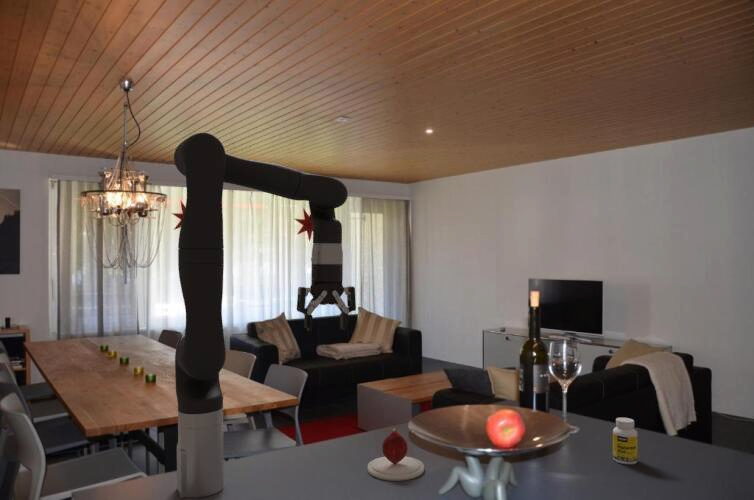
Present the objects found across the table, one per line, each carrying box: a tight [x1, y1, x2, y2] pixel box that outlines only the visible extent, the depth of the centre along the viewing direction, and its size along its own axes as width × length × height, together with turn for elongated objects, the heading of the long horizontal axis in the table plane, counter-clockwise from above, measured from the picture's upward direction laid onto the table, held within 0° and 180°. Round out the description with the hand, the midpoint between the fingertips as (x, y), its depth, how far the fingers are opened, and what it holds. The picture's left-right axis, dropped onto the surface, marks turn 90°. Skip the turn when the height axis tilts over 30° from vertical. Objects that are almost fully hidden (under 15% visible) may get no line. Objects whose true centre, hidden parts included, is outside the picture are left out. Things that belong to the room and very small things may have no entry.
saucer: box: [367, 455, 425, 482], centre depth 135 cm, size 13×13×1 cm
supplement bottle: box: [612, 417, 639, 465], centre depth 139 cm, size 5×5×10 cm
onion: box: [381, 428, 408, 464], centre depth 135 cm, size 6×6×8 cm
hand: (326, 329), depth 141 cm, fingers open, 8 cm apart
